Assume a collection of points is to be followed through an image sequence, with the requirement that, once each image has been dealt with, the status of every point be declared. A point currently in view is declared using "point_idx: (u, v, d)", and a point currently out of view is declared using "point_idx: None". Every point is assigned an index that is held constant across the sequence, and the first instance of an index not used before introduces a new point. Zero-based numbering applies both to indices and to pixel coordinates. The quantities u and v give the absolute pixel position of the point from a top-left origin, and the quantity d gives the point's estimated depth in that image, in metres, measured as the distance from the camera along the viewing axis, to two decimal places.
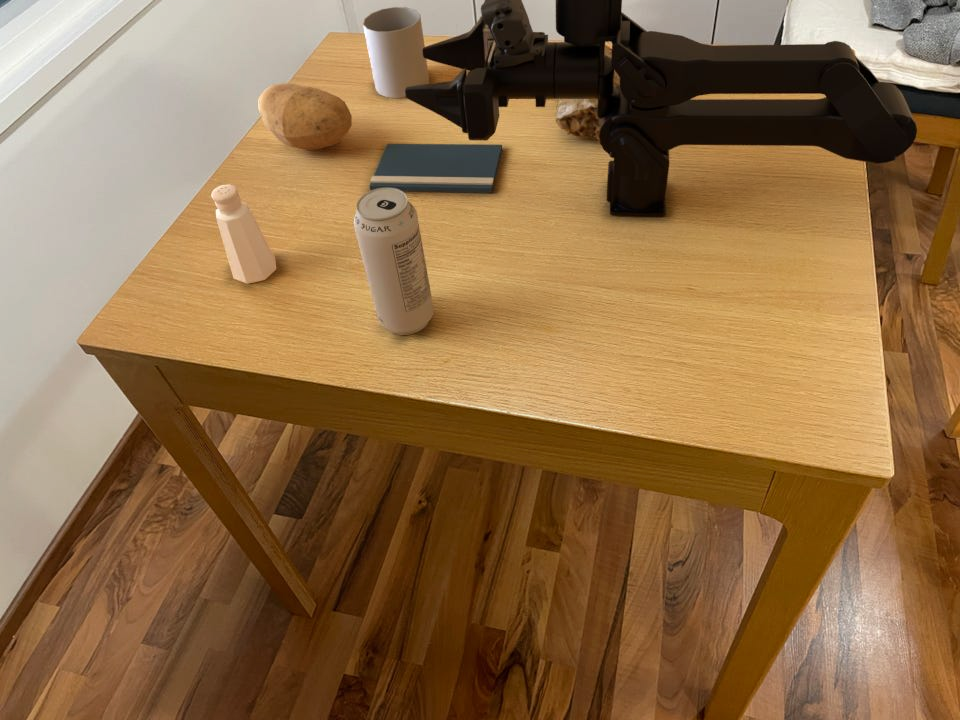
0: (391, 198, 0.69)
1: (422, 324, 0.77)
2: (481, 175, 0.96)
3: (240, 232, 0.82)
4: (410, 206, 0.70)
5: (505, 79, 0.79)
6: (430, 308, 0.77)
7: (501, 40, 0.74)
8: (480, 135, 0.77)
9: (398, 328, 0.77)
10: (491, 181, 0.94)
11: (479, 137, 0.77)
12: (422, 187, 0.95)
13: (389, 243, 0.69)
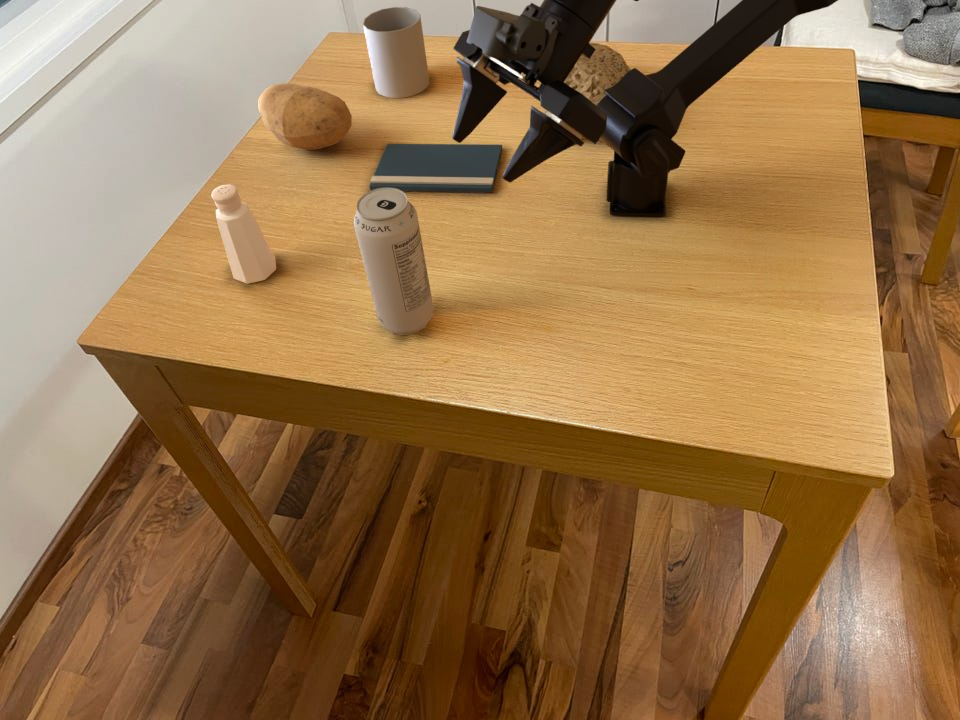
0: (391, 198, 0.69)
1: (422, 324, 0.77)
2: (481, 175, 0.96)
3: (240, 232, 0.82)
4: (410, 206, 0.70)
5: (554, 72, 0.70)
6: (430, 308, 0.77)
7: (533, 52, 0.65)
8: (601, 130, 0.68)
9: (398, 328, 0.77)
10: (491, 181, 0.94)
11: (602, 132, 0.69)
12: (422, 187, 0.95)
13: (389, 243, 0.69)
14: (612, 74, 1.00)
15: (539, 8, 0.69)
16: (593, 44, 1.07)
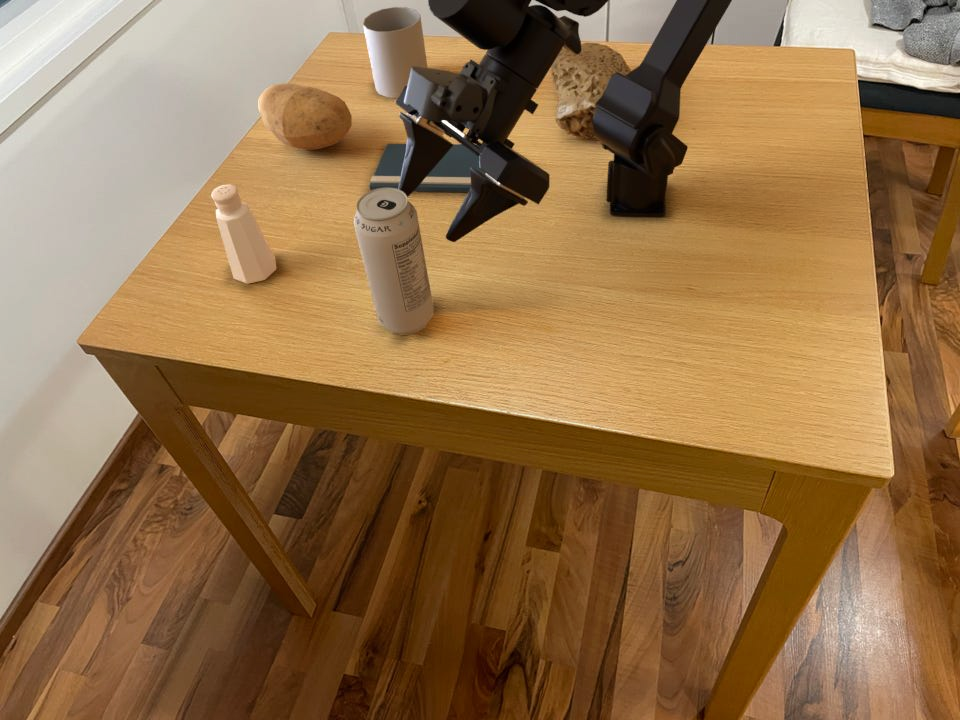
0: (391, 198, 0.69)
1: (422, 324, 0.77)
2: None
3: (240, 232, 0.82)
4: (410, 206, 0.70)
5: (495, 131, 0.68)
6: (430, 308, 0.77)
7: (469, 115, 0.63)
8: (544, 190, 0.67)
9: (398, 328, 0.77)
10: None
11: (544, 192, 0.67)
12: (422, 187, 0.95)
13: (389, 243, 0.69)
14: (612, 74, 1.00)
15: (478, 65, 0.67)
16: (593, 44, 1.07)
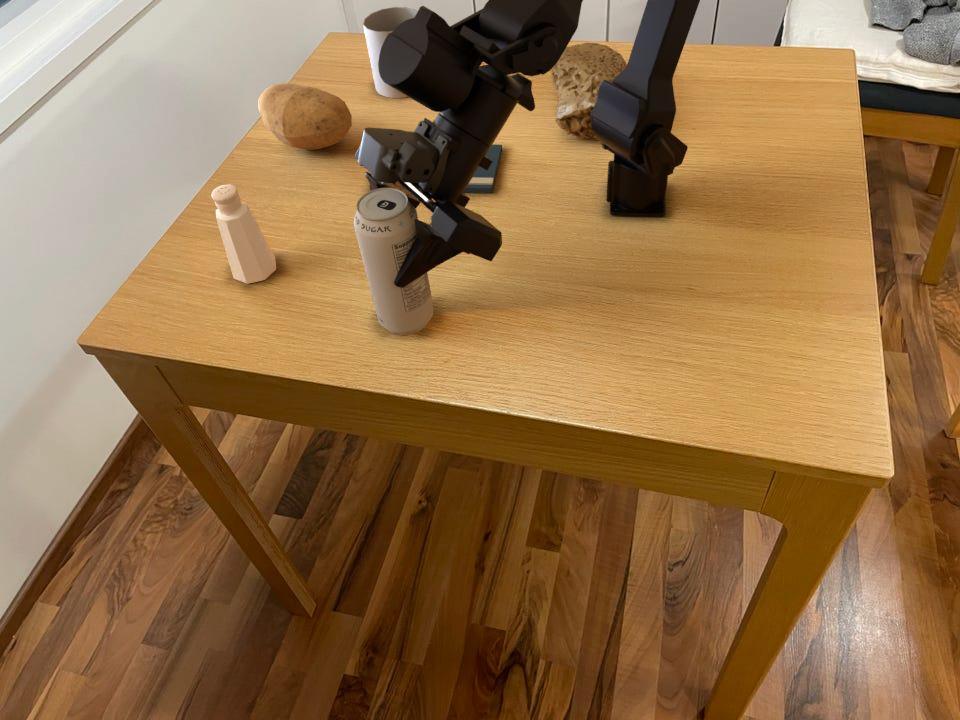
0: (391, 198, 0.69)
1: (422, 324, 0.77)
2: (481, 175, 0.96)
3: (240, 232, 0.82)
4: (410, 206, 0.70)
5: (449, 188, 0.69)
6: (429, 308, 0.77)
7: (420, 177, 0.64)
8: (496, 248, 0.68)
9: (398, 328, 0.77)
10: (491, 181, 0.94)
11: (497, 250, 0.68)
12: None
13: (389, 244, 0.69)
14: (612, 74, 1.00)
15: (432, 124, 0.68)
16: (593, 44, 1.07)
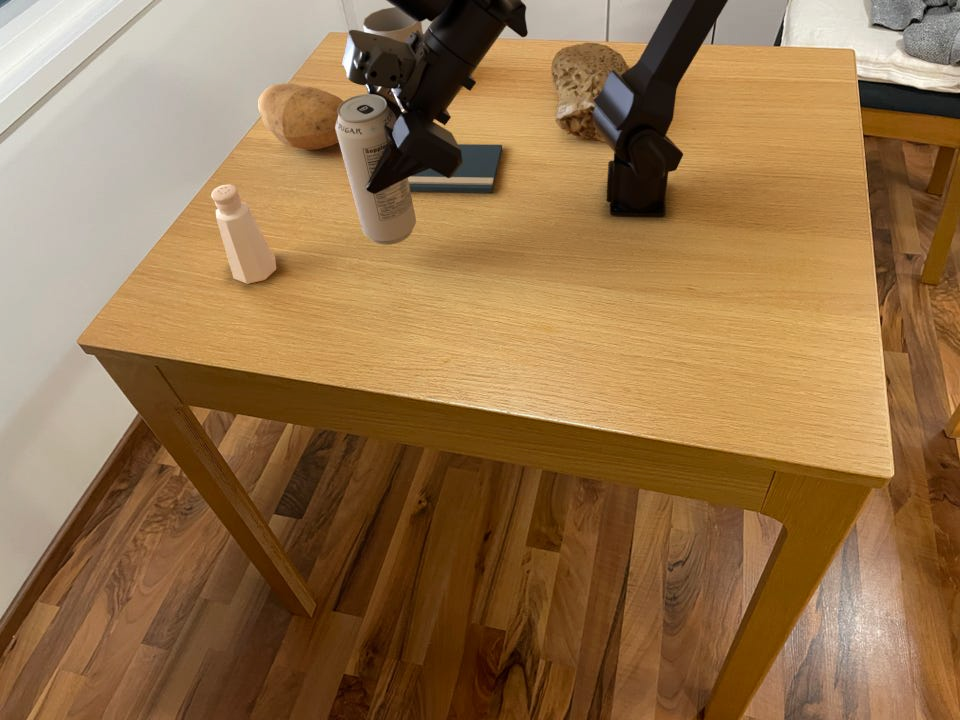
0: (372, 104, 0.72)
1: (397, 236, 0.80)
2: (481, 175, 0.96)
3: (240, 232, 0.82)
4: (388, 114, 0.72)
5: (425, 101, 0.70)
6: (407, 222, 0.80)
7: (387, 82, 0.67)
8: (453, 165, 0.69)
9: (374, 236, 0.80)
10: (491, 181, 0.94)
11: (454, 167, 0.69)
12: (422, 187, 0.95)
13: (360, 146, 0.72)
14: None
15: (419, 36, 0.70)
16: (593, 44, 1.07)
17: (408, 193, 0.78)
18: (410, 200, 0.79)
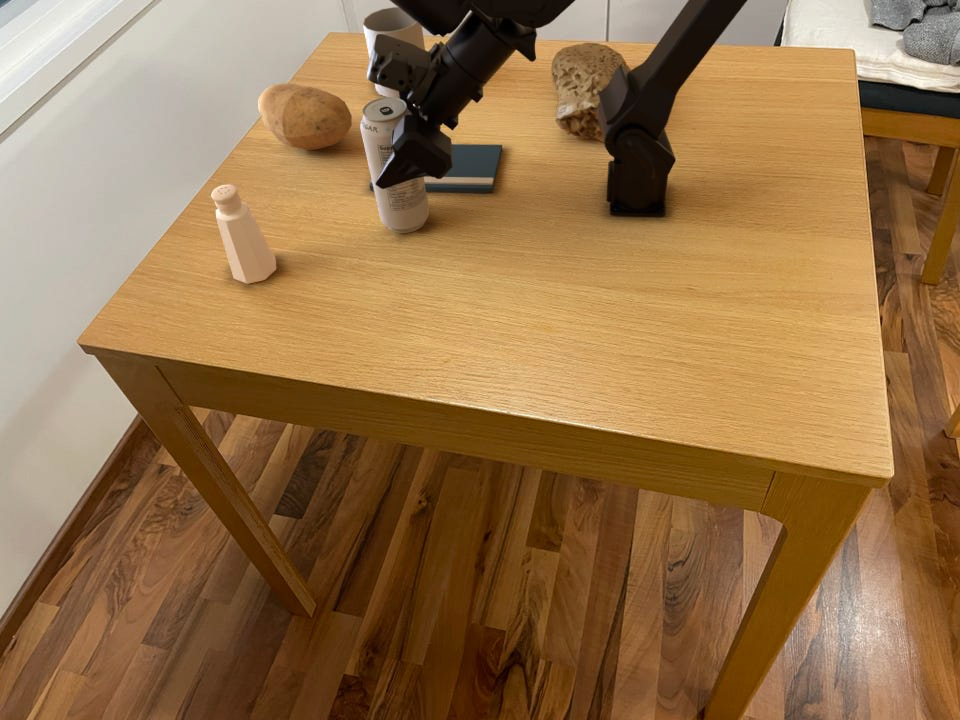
0: (394, 107, 0.81)
1: (406, 227, 0.89)
2: (481, 175, 0.96)
3: (240, 232, 0.82)
4: None
5: (433, 107, 0.78)
6: (417, 216, 0.88)
7: (395, 85, 0.74)
8: (442, 168, 0.76)
9: (386, 222, 0.89)
10: (491, 181, 0.94)
11: (443, 170, 0.76)
12: None
13: (375, 143, 0.81)
14: (612, 74, 1.00)
15: (439, 48, 0.77)
16: (593, 44, 1.07)
17: (420, 190, 0.87)
18: (422, 197, 0.88)
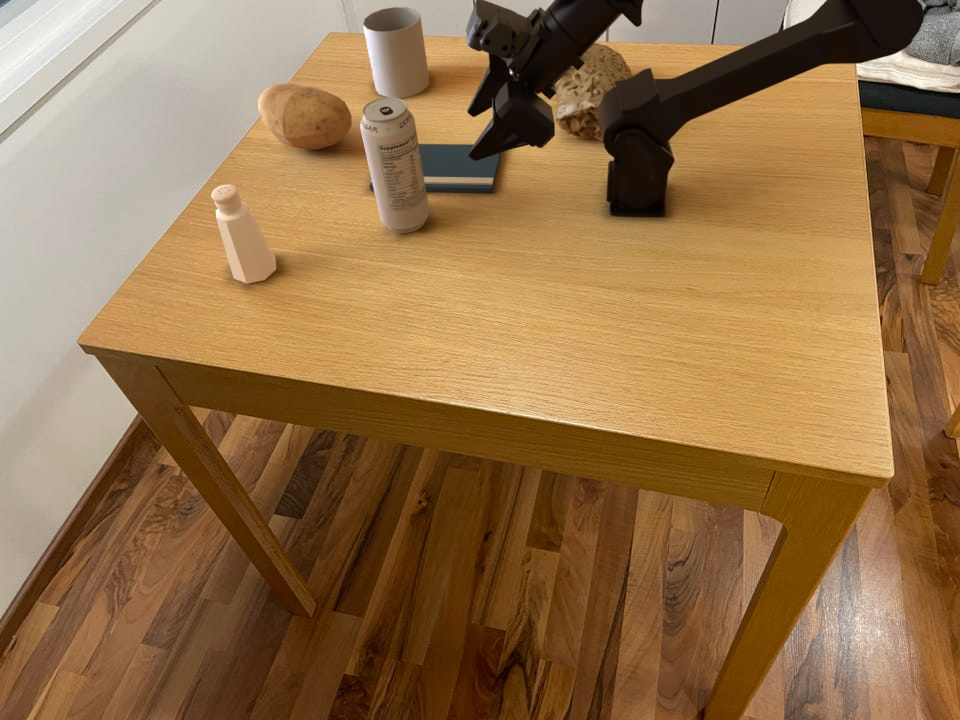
0: (394, 107, 0.81)
1: (406, 227, 0.89)
2: (481, 175, 0.96)
3: (240, 232, 0.82)
4: (405, 119, 0.80)
5: (533, 74, 0.76)
6: (417, 216, 0.88)
7: (498, 51, 0.72)
8: (545, 136, 0.74)
9: (386, 222, 0.89)
10: (491, 181, 0.94)
11: (545, 139, 0.74)
12: None
13: (375, 143, 0.81)
14: (612, 74, 1.00)
15: (540, 13, 0.75)
16: (593, 44, 1.07)
17: (420, 190, 0.87)
18: (422, 197, 0.88)
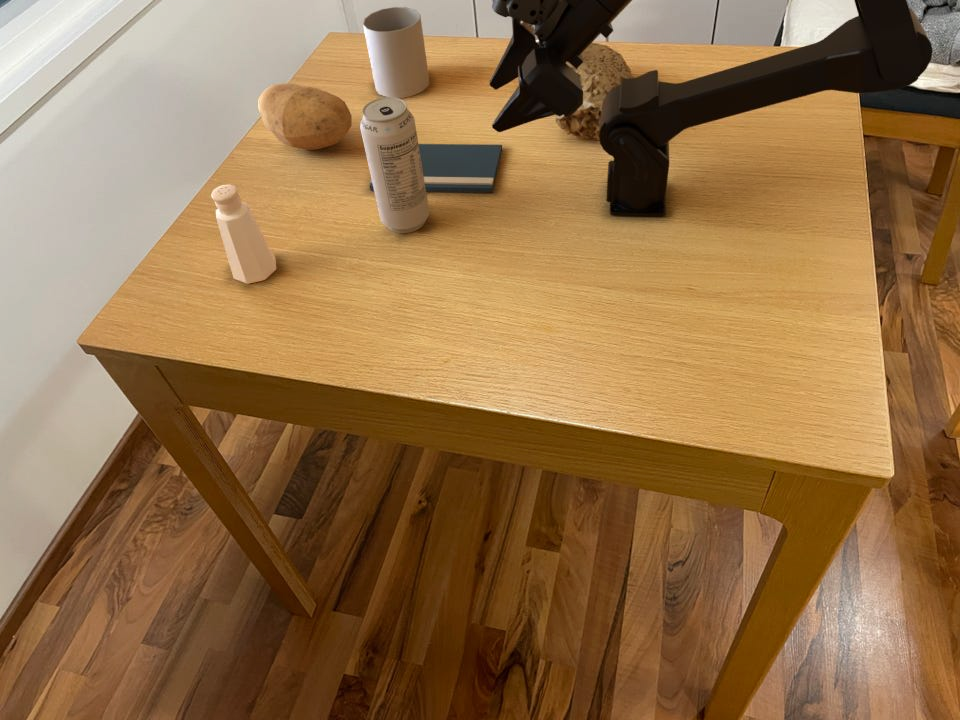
0: (394, 107, 0.81)
1: (406, 227, 0.89)
2: (481, 175, 0.96)
3: (240, 232, 0.82)
4: (405, 119, 0.80)
5: (560, 42, 0.74)
6: (417, 216, 0.88)
7: (526, 16, 0.70)
8: (573, 105, 0.72)
9: (386, 222, 0.89)
10: (491, 181, 0.94)
11: (573, 107, 0.72)
12: None
13: (375, 143, 0.81)
14: (612, 74, 1.00)
15: None
16: (593, 44, 1.07)
17: (420, 190, 0.87)
18: (422, 197, 0.88)
